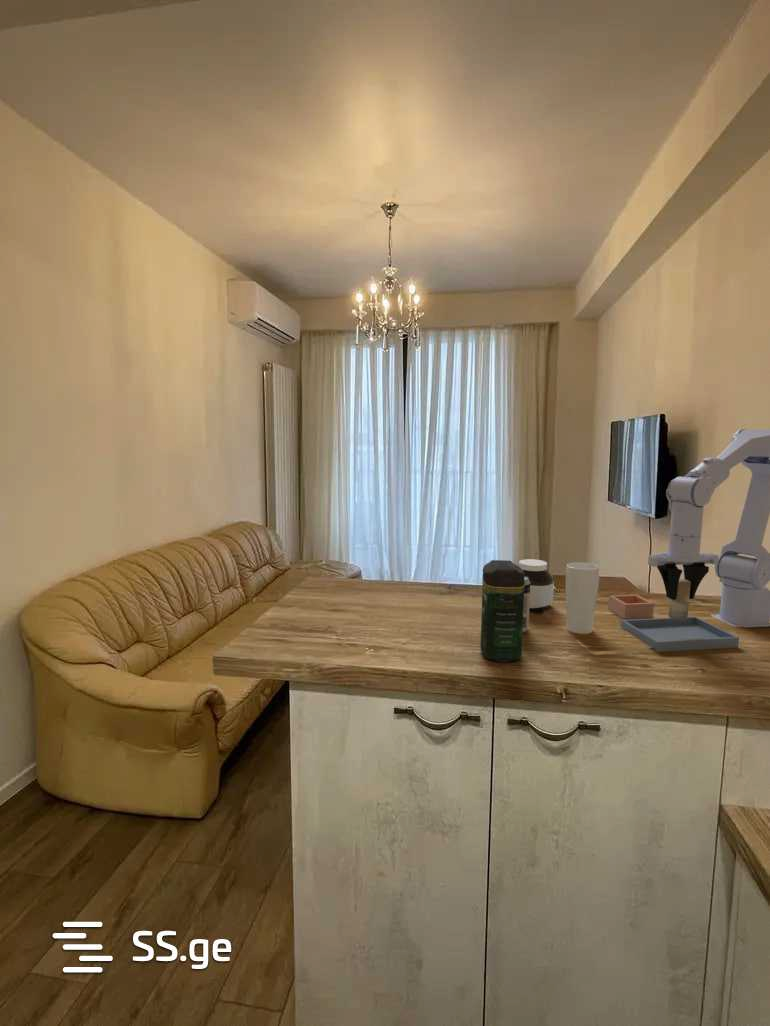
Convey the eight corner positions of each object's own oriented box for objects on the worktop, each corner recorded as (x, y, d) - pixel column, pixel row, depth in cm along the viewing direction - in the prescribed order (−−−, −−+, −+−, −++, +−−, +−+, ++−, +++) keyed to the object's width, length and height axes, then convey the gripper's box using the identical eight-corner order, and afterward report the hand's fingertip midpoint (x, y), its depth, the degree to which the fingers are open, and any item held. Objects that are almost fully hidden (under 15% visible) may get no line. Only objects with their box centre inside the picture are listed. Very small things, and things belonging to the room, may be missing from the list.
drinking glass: (598, 638, 117) (602, 570, 115) (565, 636, 118) (568, 568, 116) (592, 627, 124) (596, 562, 121) (561, 625, 125) (564, 561, 123)
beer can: (530, 628, 123) (532, 576, 122) (526, 635, 119) (528, 581, 117) (509, 624, 125) (510, 573, 124) (504, 631, 121) (506, 579, 119)
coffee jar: (525, 664, 104) (529, 569, 102) (483, 663, 105) (485, 568, 102) (516, 644, 114) (519, 557, 111) (478, 643, 115) (480, 556, 112)
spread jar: (556, 608, 137) (559, 562, 135) (536, 620, 129) (538, 571, 127) (513, 598, 145) (515, 555, 143) (491, 609, 137) (492, 563, 135)
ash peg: (680, 614, 119) (683, 578, 117) (691, 619, 115) (694, 583, 114) (665, 614, 118) (668, 578, 117) (675, 620, 115) (679, 583, 114)
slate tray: (694, 625, 125) (695, 616, 125) (738, 647, 112) (739, 637, 112) (620, 628, 123) (621, 619, 122) (656, 652, 110) (656, 642, 110)
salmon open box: (635, 610, 135) (636, 594, 135) (652, 619, 128) (653, 603, 128) (608, 611, 134) (609, 595, 134) (624, 621, 127) (625, 604, 127)
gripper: (703, 530, 119) (698, 591, 121) (641, 532, 117) (637, 593, 119) (728, 536, 112) (721, 600, 114) (661, 538, 110) (656, 603, 112)
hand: (680, 597), depth 116 cm, fingers closed on ash peg, 3 cm apart
